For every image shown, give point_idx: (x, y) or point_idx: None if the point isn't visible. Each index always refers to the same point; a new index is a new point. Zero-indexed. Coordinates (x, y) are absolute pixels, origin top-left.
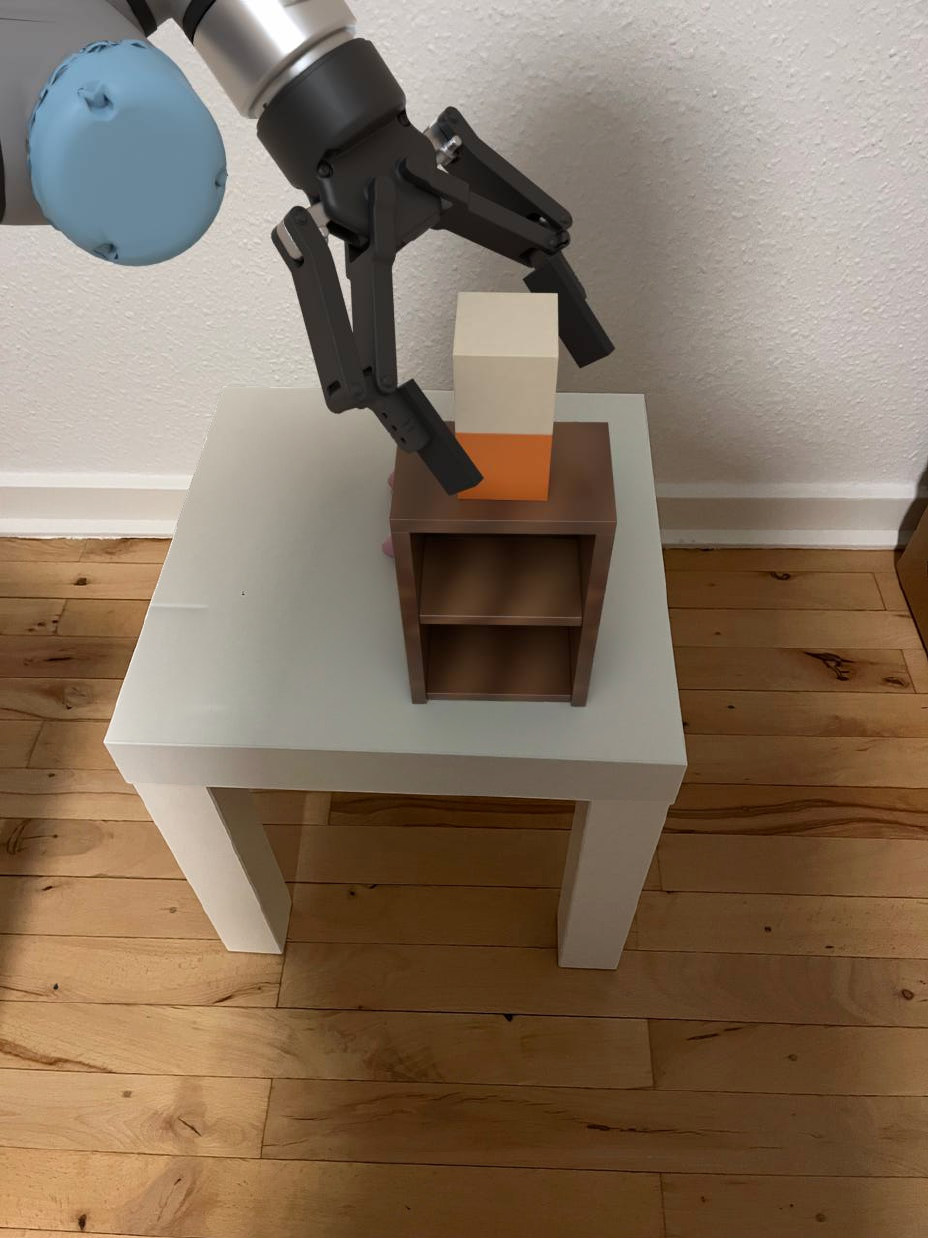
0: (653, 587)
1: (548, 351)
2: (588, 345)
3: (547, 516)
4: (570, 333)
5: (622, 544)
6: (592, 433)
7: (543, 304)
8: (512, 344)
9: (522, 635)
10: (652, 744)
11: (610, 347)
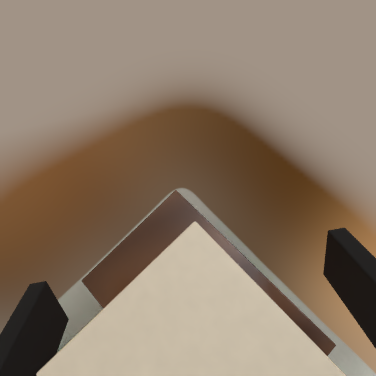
0: (104, 257)
1: (198, 243)
2: (45, 317)
3: (214, 234)
4: (41, 353)
5: (88, 293)
6: (104, 280)
7: (87, 368)
8: (236, 313)
9: None
10: (183, 193)
11: (33, 287)
